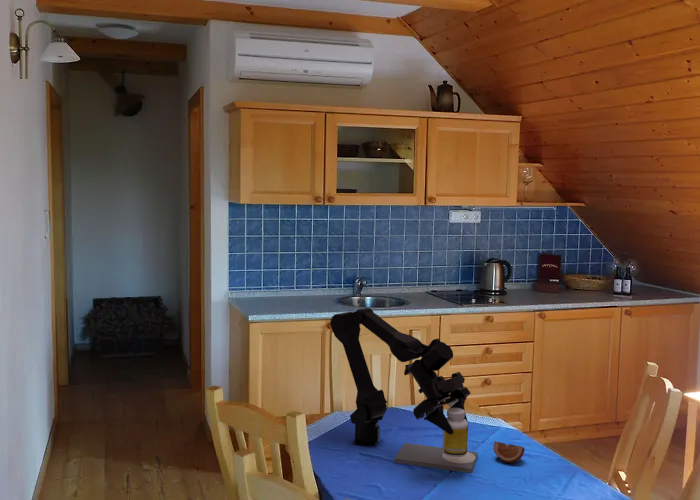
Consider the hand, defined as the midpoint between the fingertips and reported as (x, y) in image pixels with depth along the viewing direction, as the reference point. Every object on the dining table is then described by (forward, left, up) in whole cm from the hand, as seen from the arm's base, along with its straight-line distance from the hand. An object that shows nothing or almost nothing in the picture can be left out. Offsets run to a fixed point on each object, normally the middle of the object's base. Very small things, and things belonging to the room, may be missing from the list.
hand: (459, 430), depth 188 cm
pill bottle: (-1, +1, -7) cm, 7 cm away
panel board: (-7, +9, -12) cm, 17 cm away
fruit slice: (+12, +15, -12) cm, 22 cm away
